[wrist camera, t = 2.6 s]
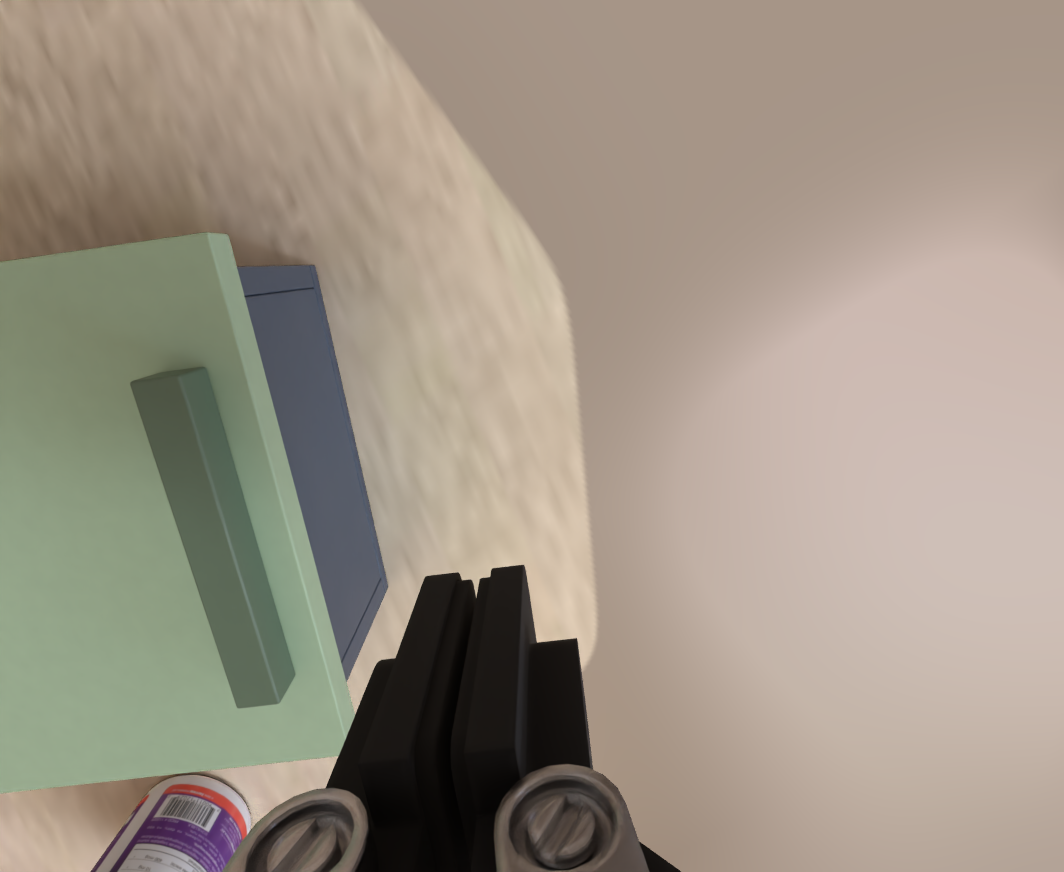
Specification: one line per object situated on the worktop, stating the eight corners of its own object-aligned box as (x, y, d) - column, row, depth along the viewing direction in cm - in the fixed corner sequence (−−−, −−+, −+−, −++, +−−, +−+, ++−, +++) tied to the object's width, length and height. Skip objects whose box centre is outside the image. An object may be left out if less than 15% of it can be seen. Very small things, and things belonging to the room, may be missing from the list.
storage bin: (-36, 314, 23) (-305, 339, 15) (315, 264, 22) (209, 266, 15) (87, 623, 26) (-82, 761, 19) (388, 586, 26) (333, 714, 19)
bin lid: (-346, 315, 15) (-489, 324, 13) (229, 233, 15) (177, 228, 12) (-94, 781, 19) (-171, 845, 17) (360, 730, 19) (338, 789, 17)
